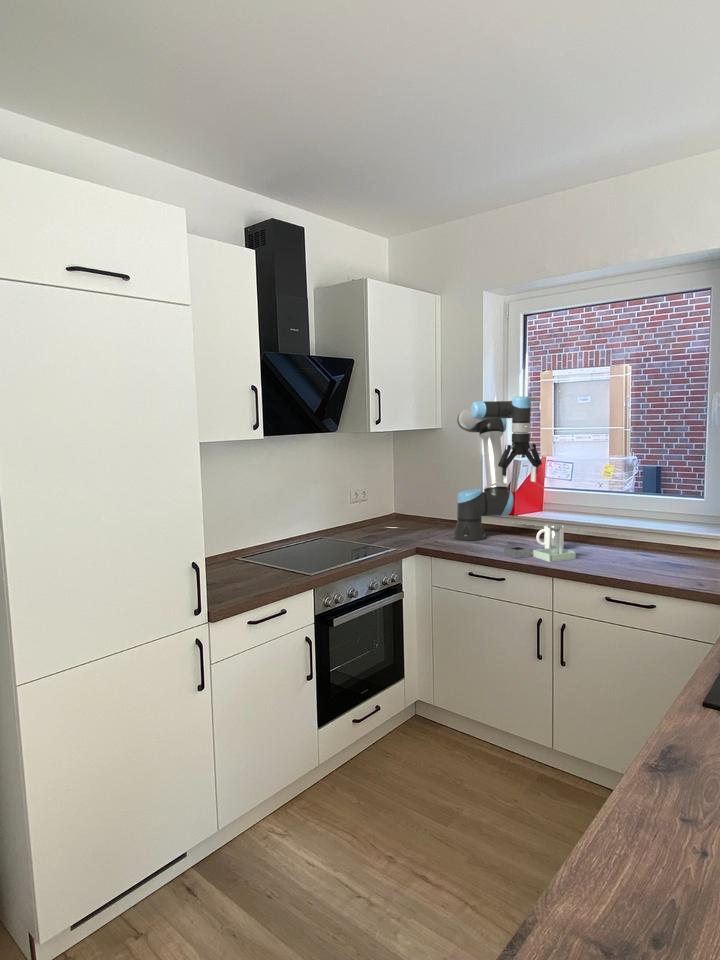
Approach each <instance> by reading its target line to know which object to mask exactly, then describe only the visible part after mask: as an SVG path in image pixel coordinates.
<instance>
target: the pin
mask: <svg viewBox="0 0 720 960" xmlns="http://www.w3.org/2000/svg"><path fill="white" fill-rule="evenodd" d="M547 525H548V528H550V543H549V555H554V554H559V545H560V529H562V526H563V524H561V523H559V524H558V523H548V524H547Z"/></svg>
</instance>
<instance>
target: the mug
mask: <svg viewBox="0 0 720 960" xmlns="http://www.w3.org/2000/svg"><path fill="white" fill-rule="evenodd" d="M564 528H565V527H564V525H562V529H560V545H559V548H563V549H564V534H565V529H564ZM541 534H543V542H542V541H541V540H540V536H541ZM535 538H536V539H535V540H536V542H537V543H538V544H539V545H540V546H543V549H546V548H549V543H550V528H548V524H544V526H543V528H542V529H540V530H539V531H538V532H537V533H536V537H535Z"/></svg>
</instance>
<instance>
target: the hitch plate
mask: <svg viewBox="0 0 720 960" xmlns="http://www.w3.org/2000/svg"><path fill="white" fill-rule="evenodd" d="M504 554H505V555H504ZM503 555H504V556H507V555H508V557H510V558H513V559H521V558H520V557H523V558H530V557H529V556H531V557H532V549H530V548H528V547H525V546H521V545H516V546H514V545H513V546H506V547H503Z"/></svg>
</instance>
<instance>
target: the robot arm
mask: <svg viewBox="0 0 720 960" xmlns="http://www.w3.org/2000/svg"><path fill="white" fill-rule="evenodd" d="M531 408H532V400H531V397H530V396H513V397H512V400H499V401H498V400H497V401H496V400H495V401H494V400H493V401H492V400H490V401H486V400H485V401H482V400H480V401H474V402H472V405H471V407H470V409H469V408H467V409H464V410H463V409H462V411H460V412H459V414H458V415H457V419H456V421H457V425H458V427H460V429H462V430H463V431H465V432H468V433H479V438H480V439H482V441H483V454H484V466H485V467H484V468H485V479H486V486H485V487H484V488H483V490H482V489H480V488H475V489H473V488H471V489H466V490H461V491H460V492H458V493H457V499H456V500H457V501H456V503H457V506H456V507H457V509H456V510H457V512H456V513H457V514H456V515H457V518H456V519H457V521H456V525H455V528H454V531H453V538H454V539H455V540H460V541H481V540H484V539H486V532H485V529H484V526H483V523H482V522H483V521H482V520H483V519H482V517H490V516H491V517H492V516H493V517H494V516H495V517H497V516H499V517H502V516H508V515H509V514H511V512H512V511H513V508H514V494H513V492H512V491H510V490H509V487H508V485H509V476H510V474H509V473H510V472H509V471H510V468H508V467H509V465H510V464H511V463H512V461H513V460H514V459H515V458H516V457H517V456H521V455H522V456H525V457H526V458H527V459H528V461H529V463H530V464H531V466H530V482H533V483H536V482H537V475H538V471H539V470H538V468H539V467H540V466H542V464H543V463H542V460H541V457H540V454H539V453H538V450H537V444H535V443H530V442H531V434H530V432H531V412H532V409H531ZM507 419H511V432H512V433H511V444H505V446H504V450H503V449H502V440H501V438H502V436H503V435H504V432H506V431H507ZM529 449H530V450H529ZM502 450H503V451H502ZM530 451H531V452H530ZM531 453H532V454H531Z"/></svg>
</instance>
